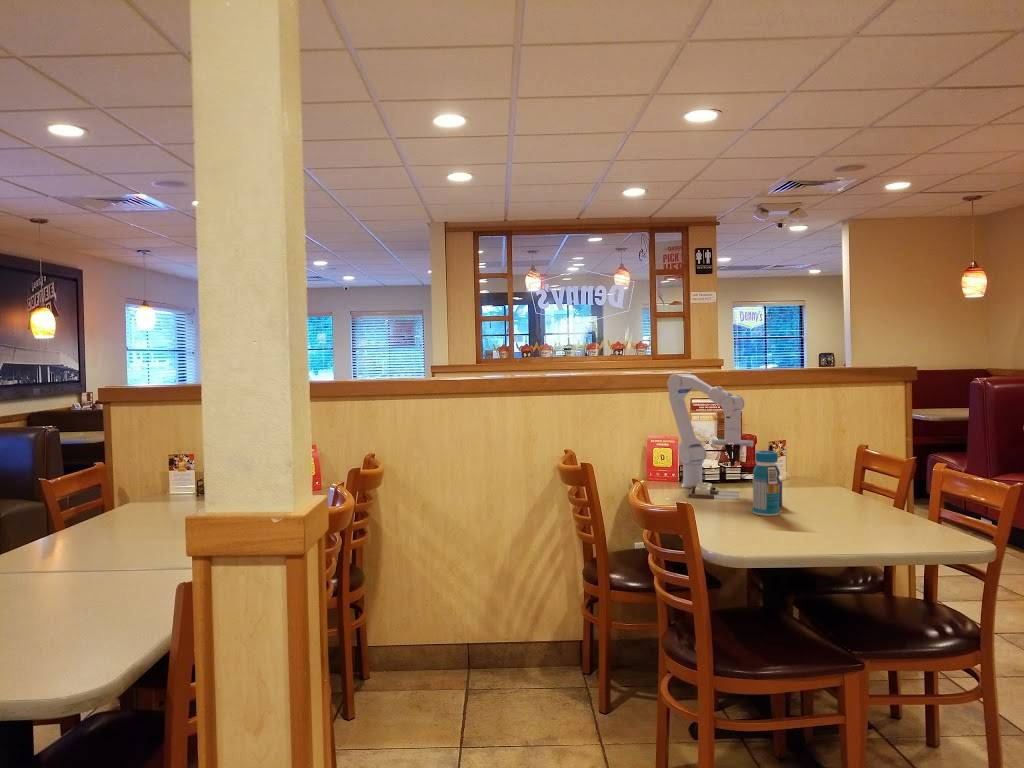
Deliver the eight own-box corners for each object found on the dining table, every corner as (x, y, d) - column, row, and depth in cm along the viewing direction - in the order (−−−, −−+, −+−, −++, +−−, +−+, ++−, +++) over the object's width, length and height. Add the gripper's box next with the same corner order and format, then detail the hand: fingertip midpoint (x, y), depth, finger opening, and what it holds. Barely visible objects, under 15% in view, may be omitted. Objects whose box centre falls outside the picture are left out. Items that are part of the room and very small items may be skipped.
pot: (696, 494, 277) (696, 485, 277) (710, 494, 275) (710, 486, 275) (695, 496, 272) (695, 487, 272) (709, 497, 271) (709, 488, 271)
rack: (689, 489, 287) (689, 486, 287) (739, 492, 282) (739, 488, 282) (686, 498, 271) (686, 494, 271) (739, 500, 265) (739, 496, 265)
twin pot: (697, 490, 285) (697, 481, 285) (711, 490, 283) (711, 482, 283) (696, 492, 280) (696, 483, 280) (710, 493, 278) (710, 484, 278)
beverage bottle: (750, 515, 243) (750, 452, 242) (754, 510, 250) (755, 449, 249) (777, 517, 239) (778, 454, 238) (781, 512, 246) (782, 451, 245)
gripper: (711, 429, 276) (711, 466, 277) (753, 430, 272) (753, 467, 273) (712, 427, 283) (712, 463, 284) (753, 428, 279) (753, 464, 279)
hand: (732, 465), depth 279 cm, fingers closed
